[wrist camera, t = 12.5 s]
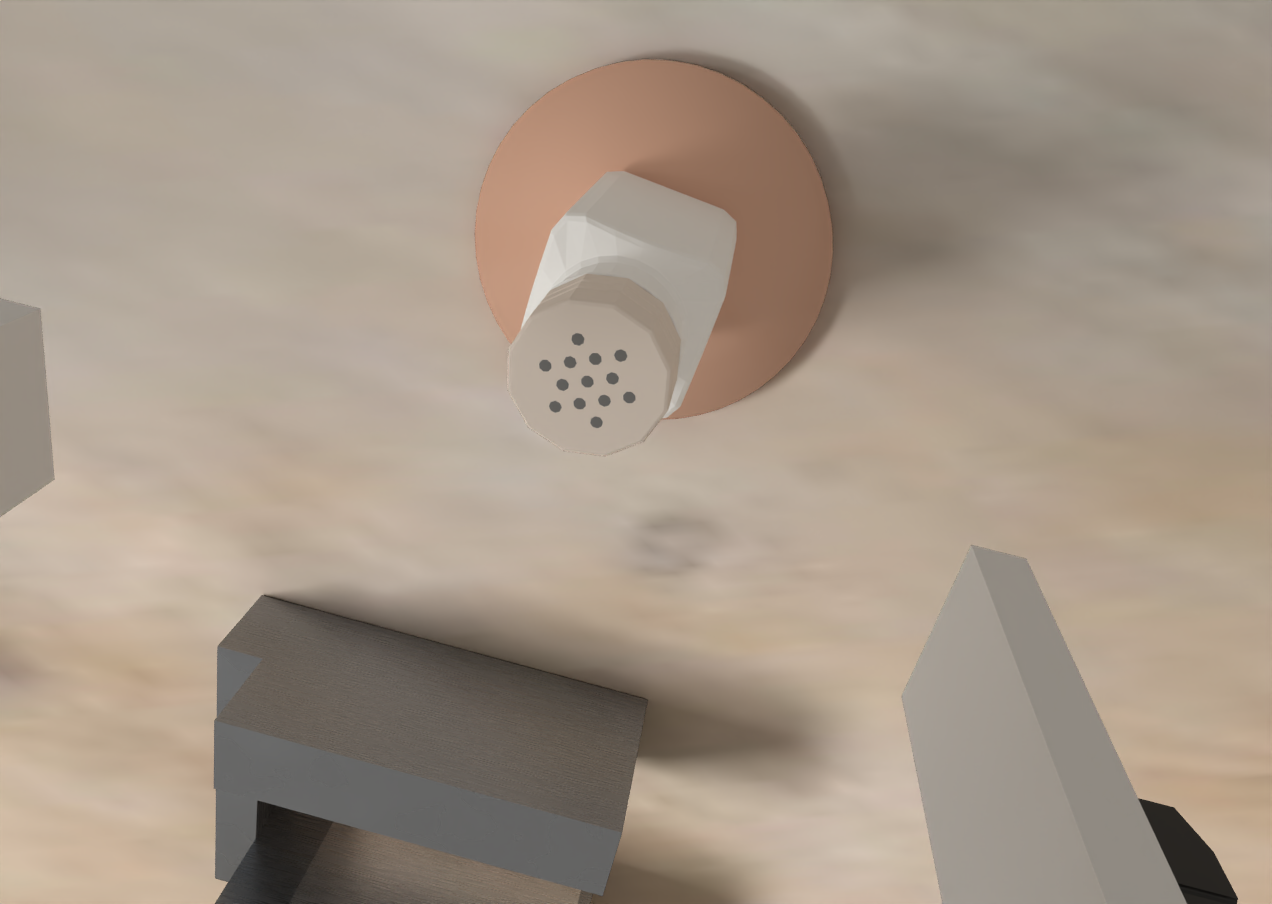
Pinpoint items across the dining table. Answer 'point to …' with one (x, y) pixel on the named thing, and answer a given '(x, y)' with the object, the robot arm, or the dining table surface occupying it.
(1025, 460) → the dining table surface
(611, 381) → the pepper shaker
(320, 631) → the vise
